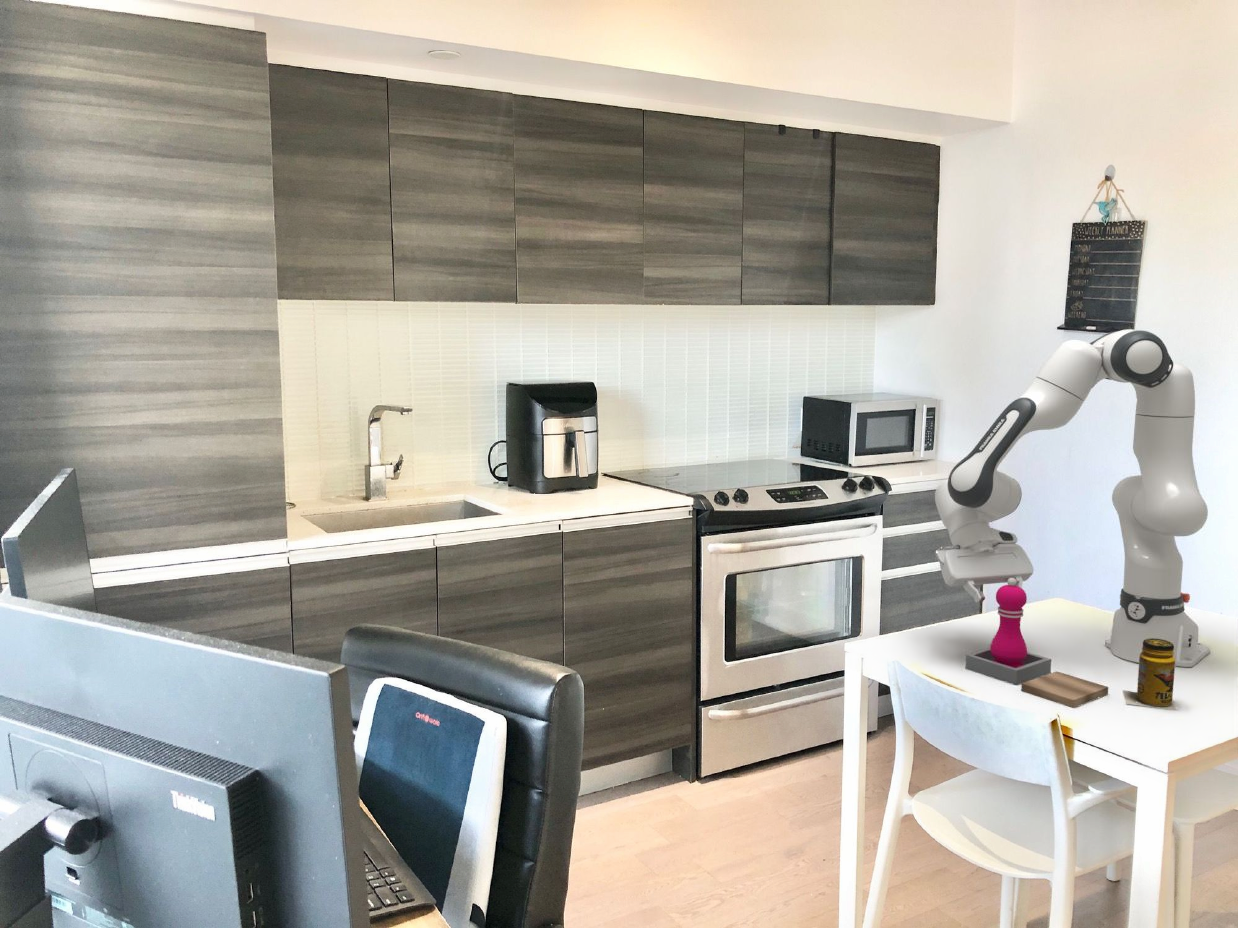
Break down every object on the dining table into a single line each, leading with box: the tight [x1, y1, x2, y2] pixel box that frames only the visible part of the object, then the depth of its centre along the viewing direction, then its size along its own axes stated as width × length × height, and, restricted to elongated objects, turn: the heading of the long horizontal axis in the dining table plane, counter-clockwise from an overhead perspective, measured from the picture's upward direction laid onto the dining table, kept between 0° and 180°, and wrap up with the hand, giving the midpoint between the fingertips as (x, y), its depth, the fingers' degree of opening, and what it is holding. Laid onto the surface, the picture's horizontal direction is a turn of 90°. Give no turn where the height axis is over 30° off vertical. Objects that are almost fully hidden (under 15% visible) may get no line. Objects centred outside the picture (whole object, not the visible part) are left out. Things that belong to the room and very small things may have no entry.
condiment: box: [1122, 638, 1177, 711], centre depth 191 cm, size 7×8×12 cm
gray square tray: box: [965, 646, 1052, 686], centre depth 209 cm, size 12×12×3 cm
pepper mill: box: [989, 578, 1028, 668], centre depth 208 cm, size 7×7×20 cm
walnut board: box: [1020, 671, 1109, 709], centre depth 197 cm, size 12×11×2 cm
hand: (1000, 599), depth 211 cm, fingers open, 8 cm apart
